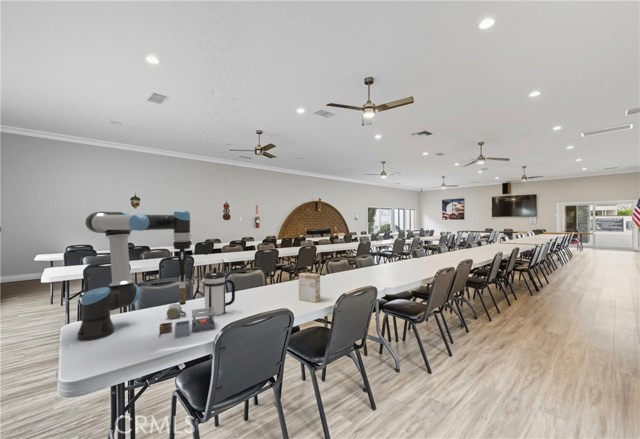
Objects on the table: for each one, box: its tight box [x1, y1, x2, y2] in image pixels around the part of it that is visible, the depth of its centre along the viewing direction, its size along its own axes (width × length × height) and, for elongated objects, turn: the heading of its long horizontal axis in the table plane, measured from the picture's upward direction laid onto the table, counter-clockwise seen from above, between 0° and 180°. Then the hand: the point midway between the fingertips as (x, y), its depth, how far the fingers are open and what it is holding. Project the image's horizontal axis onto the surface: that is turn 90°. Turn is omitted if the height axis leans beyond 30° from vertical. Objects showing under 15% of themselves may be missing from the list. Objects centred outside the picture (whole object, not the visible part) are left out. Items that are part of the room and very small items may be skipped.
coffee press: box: [201, 266, 236, 318], centre depth 180 cm, size 17×16×30 cm
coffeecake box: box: [298, 272, 321, 304], centre depth 211 cm, size 15×7×20 cm, turn 58°
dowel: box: [178, 268, 187, 306], centre depth 146 cm, size 3×3×20 cm
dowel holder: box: [159, 321, 173, 337], centre depth 150 cm, size 5×5×5 cm
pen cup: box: [174, 320, 191, 338], centre depth 146 cm, size 7×7×7 cm
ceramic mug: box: [166, 303, 187, 320], centre depth 177 cm, size 11×8×8 cm
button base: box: [191, 307, 216, 333], centre depth 156 cm, size 11×11×10 cm
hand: (182, 287), depth 146 cm, fingers closed on dowel, 3 cm apart
